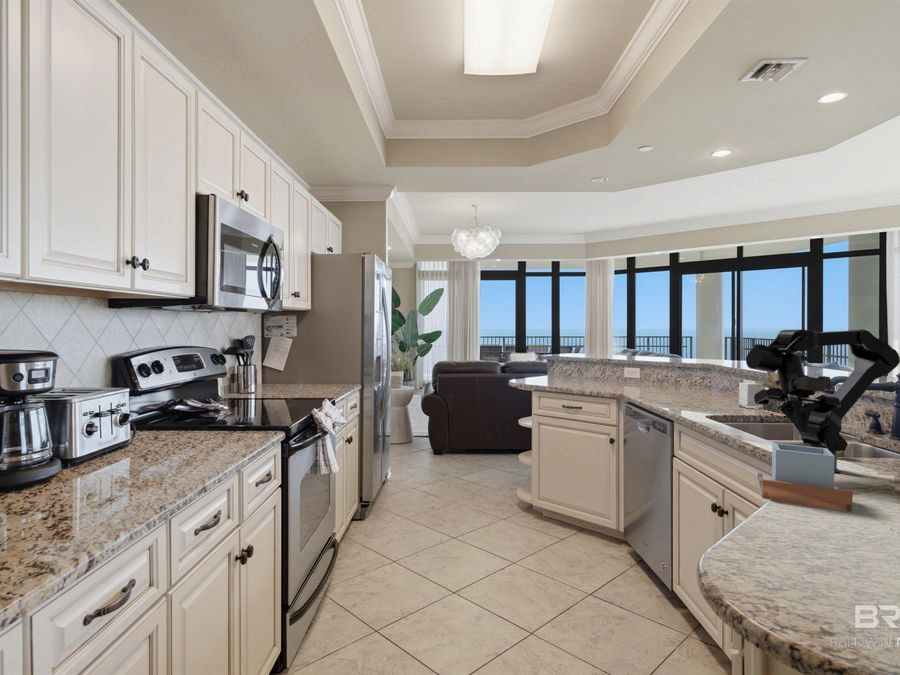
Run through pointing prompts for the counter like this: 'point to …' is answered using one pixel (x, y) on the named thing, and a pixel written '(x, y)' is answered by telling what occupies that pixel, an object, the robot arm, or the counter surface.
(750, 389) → the supplement box
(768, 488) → the brown wooden tray
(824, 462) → the box
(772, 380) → the owl
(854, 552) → the counter surface
